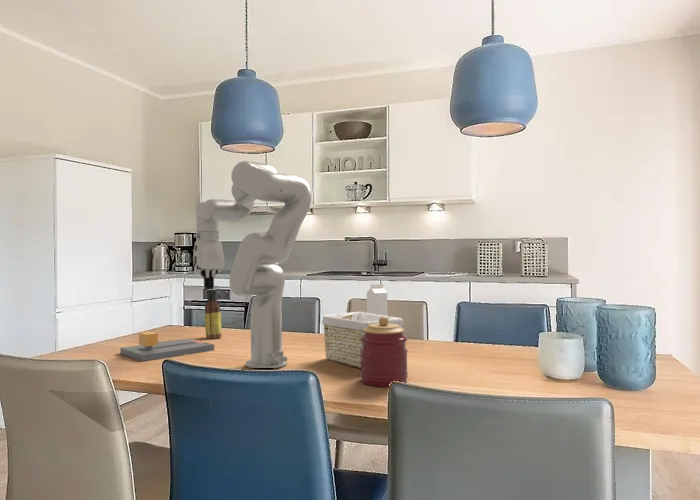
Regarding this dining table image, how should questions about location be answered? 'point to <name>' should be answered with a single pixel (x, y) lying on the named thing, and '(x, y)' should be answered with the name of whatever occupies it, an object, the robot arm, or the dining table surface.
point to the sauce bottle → (212, 315)
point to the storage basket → (349, 335)
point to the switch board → (166, 349)
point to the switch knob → (148, 339)
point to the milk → (377, 300)
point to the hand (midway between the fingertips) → (209, 289)
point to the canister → (383, 354)
